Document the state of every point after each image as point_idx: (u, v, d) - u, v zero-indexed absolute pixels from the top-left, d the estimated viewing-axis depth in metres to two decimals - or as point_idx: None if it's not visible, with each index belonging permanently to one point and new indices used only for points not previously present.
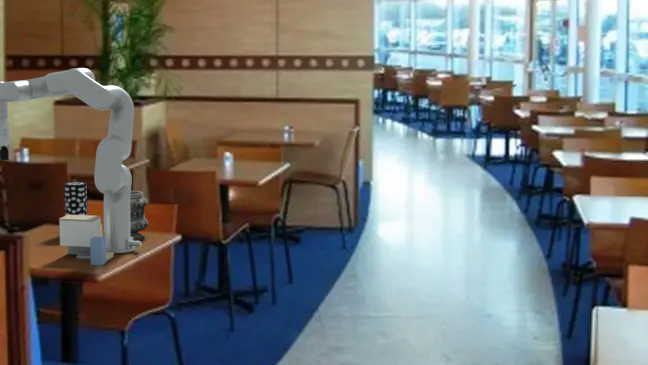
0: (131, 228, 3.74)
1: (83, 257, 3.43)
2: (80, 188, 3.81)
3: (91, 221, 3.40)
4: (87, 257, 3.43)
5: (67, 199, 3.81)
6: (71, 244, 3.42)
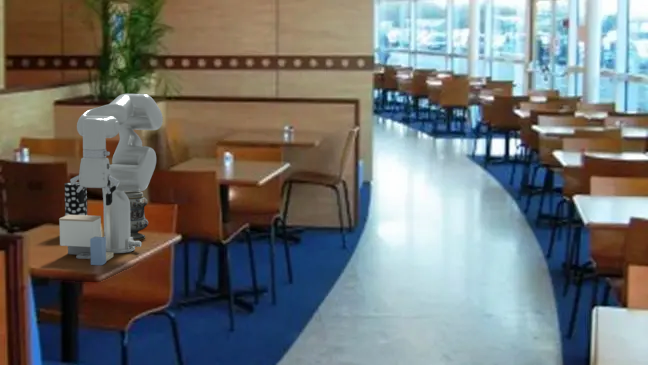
0: (131, 228, 3.74)
1: (83, 257, 3.43)
2: None
3: (91, 221, 3.40)
4: (87, 257, 3.43)
5: (67, 199, 3.81)
6: (71, 244, 3.42)
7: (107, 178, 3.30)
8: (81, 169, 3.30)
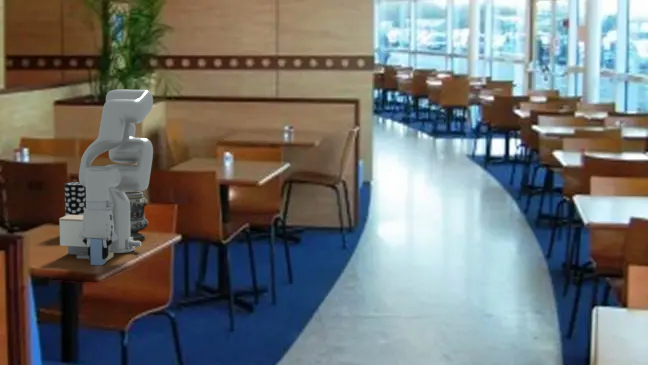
0: (131, 228, 3.74)
1: (83, 257, 3.43)
2: (80, 188, 3.81)
3: None
4: (87, 257, 3.43)
5: (67, 199, 3.81)
6: (71, 244, 3.42)
7: (110, 229, 3.33)
8: (84, 220, 3.32)
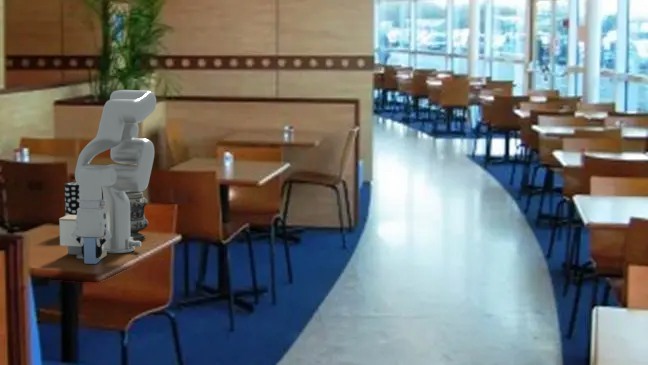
0: (131, 228, 3.74)
1: (83, 257, 3.43)
2: None
3: None
4: None
5: (67, 199, 3.81)
6: (71, 244, 3.42)
7: (104, 228, 3.33)
8: (78, 219, 3.33)
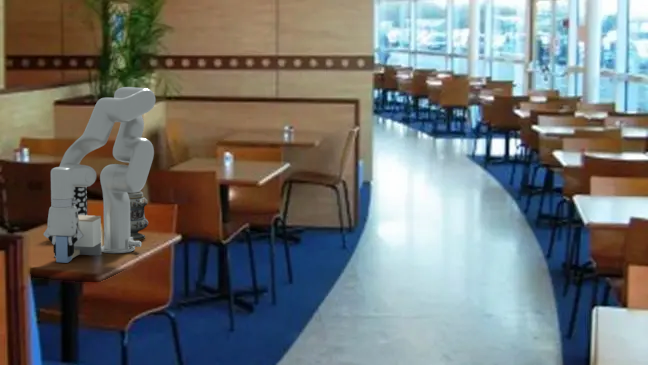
0: (131, 228, 3.74)
1: None
2: (80, 188, 3.81)
3: (91, 221, 3.40)
4: None
5: None
6: None
7: (75, 227, 3.34)
8: (49, 218, 3.34)
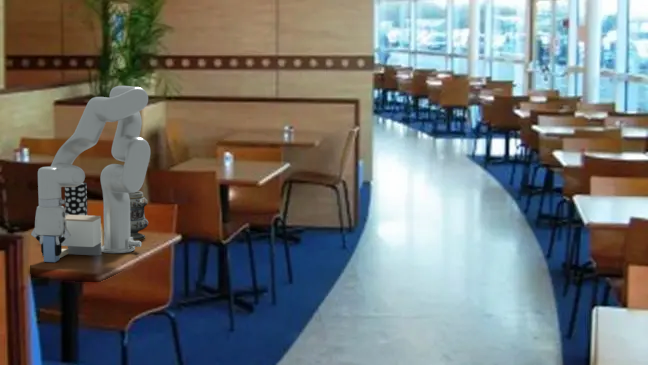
0: (131, 228, 3.74)
1: None
2: (80, 188, 3.81)
3: (91, 221, 3.40)
4: None
5: (67, 199, 3.81)
6: (71, 244, 3.42)
7: (63, 226, 3.35)
8: (37, 217, 3.35)
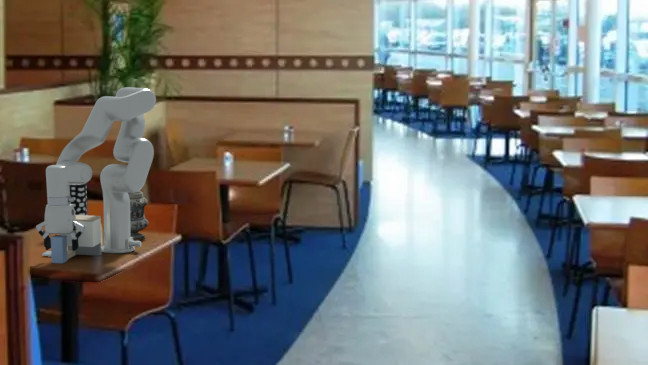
0: (131, 228, 3.74)
1: (49, 255, 3.45)
2: (80, 188, 3.81)
3: (91, 221, 3.40)
4: None
5: None
6: (71, 244, 3.42)
7: (72, 224, 3.35)
8: (46, 216, 3.34)
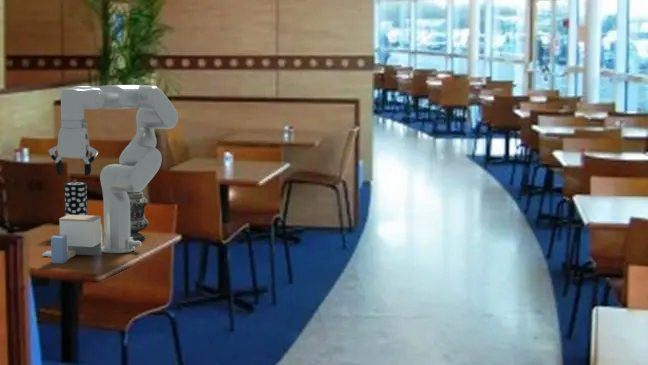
0: (131, 228, 3.74)
1: (49, 255, 3.45)
2: (80, 188, 3.81)
3: (91, 221, 3.40)
4: None
5: (67, 199, 3.81)
6: (71, 244, 3.42)
7: (86, 148, 3.32)
8: (59, 139, 3.32)
